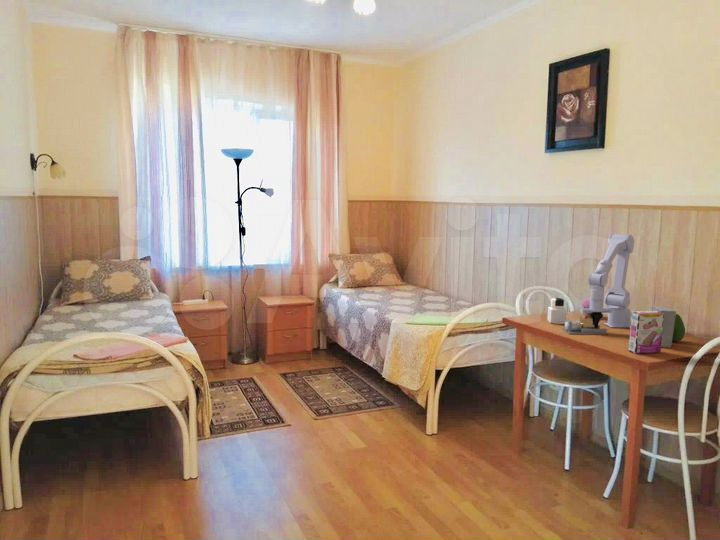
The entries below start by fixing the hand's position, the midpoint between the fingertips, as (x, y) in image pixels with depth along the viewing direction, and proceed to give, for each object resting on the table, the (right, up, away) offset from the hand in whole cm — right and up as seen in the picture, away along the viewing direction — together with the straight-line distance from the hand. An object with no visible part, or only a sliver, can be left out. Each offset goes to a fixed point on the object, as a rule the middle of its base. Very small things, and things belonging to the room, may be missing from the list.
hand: (595, 328), depth 250 cm
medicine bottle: (-11, +1, +19) cm, 22 cm away
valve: (-4, -1, 0) cm, 4 cm away
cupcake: (+11, +2, +32) cm, 34 cm away
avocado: (+27, -4, -16) cm, 31 cm away
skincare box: (+18, -5, -22) cm, 28 cm away
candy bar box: (+6, -6, -33) cm, 34 cm away
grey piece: (-5, -2, 0) cm, 5 cm away
